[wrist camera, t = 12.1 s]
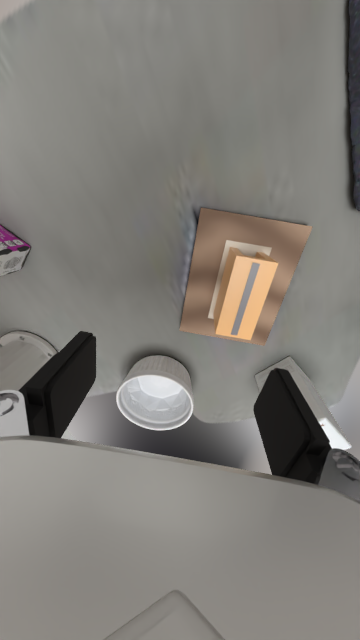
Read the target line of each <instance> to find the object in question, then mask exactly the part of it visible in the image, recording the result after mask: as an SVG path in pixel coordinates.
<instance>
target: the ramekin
mask: <svg viewBox="0 0 360 640" xmlns="http://www.w3.org/2000/svg"><path fill="white" fill-rule="evenodd" d="M116 401H117V405H118V407H119V409H120V411H121V412H122V414H123V415H124V416H125V417H126V418H127V419H129V420H130V421H131V422H133V423H135V424H137V425H139V426H141V427H144V428H148V429H152V430H168V429H173V428H177V427H179V426H181V425H182V424H184V423H185V422H186V421H187V420H188V419H189V418H190V417H191V415H192V412H193V407H194V398H193V394H192V387H191V380H190V376H189V373H188V372H187V370H186V369H185V367H184V366H183V365H182V364H181V363H179V362H178V361H176V360H175V359H172V358H170V357H167V356H161V355H155V356H148V357H145V358H143V359H141V360H140V361H138V362H137V363H136V364H135V365H134V366H133V367H132V369H131V370H130V372H129V373H128V375H127V376H126V378H125V379H124V380H123V381H122V382H121V384H120V386H119V388H118V391H117V395H116Z"/></svg>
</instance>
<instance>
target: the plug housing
mask: <svg viewBox="0 0 360 640" xmlns="http://www.w3.org/2000/svg"><path fill="white" fill-rule="evenodd" d="M277 266H278V262H276V261H275V260H274V259H272V258H271V257H269V256H268V255H266V254H265V253H262V252H257V253H256V256H255V257H251V256H245V255H243V254H242V253H241V252H240V251H239V250H238V248H233V247H230V249H229V253H228V257H227V261H226V265H225V269H224V273H223V277H222V281H221V285H220V289H219V293H218V297H217V301H216V305H215V309H214V313H213V317H214V326H215V334H218V335H224V336H229V337H235V338H241V339H246V340H251V338H252V335H253V332H254V329H255V327H256V324H257V321H258V318H259V316H260V313H261V310H262V307H263V305H264V302H265V299H266V296H267V294H268V291H269V288H270V285H271V283H272V280H273V277H274V274H275V272H276V269H277Z"/></svg>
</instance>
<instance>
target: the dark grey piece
mask: <svg viewBox="0 0 360 640" xmlns="http://www.w3.org/2000/svg"><path fill="white" fill-rule="evenodd" d="M349 15H350V26H349V58H348V72H349V74H350V76H349V79H348V86H349V88H348V89H349V101H350V114H351V136H350V137H351V140H352V145H353V149H352V159H353V174H354V180H355V184H354V194H353V197H354V202H355V206H356V209H357V210H358V211H360V0H350V1H349Z"/></svg>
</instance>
